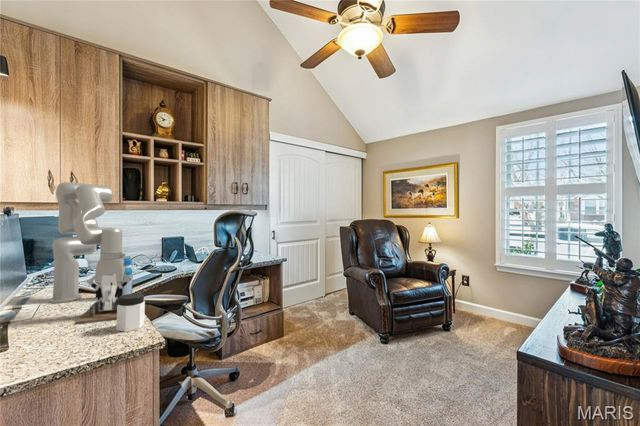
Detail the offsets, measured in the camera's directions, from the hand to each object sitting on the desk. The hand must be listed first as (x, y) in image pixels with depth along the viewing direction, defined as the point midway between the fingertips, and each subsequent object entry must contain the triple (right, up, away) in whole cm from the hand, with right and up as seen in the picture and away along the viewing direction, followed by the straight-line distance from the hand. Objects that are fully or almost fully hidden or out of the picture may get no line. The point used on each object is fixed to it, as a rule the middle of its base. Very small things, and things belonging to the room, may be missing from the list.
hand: (109, 297), depth 123 cm
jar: (+19, -7, -15) cm, 25 cm away
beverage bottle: (-13, -8, +27) cm, 31 cm away
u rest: (0, -7, +1) cm, 7 cm away
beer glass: (0, -5, 0) cm, 5 cm away
